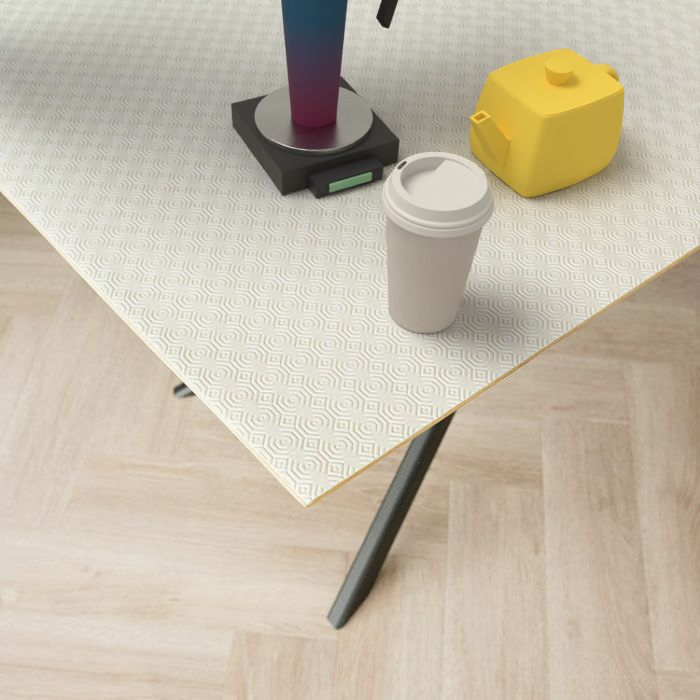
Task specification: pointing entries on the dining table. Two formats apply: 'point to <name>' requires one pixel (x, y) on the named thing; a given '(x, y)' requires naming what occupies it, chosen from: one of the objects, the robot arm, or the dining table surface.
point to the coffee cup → (432, 236)
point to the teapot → (548, 121)
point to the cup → (314, 58)
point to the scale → (318, 170)
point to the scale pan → (309, 141)
